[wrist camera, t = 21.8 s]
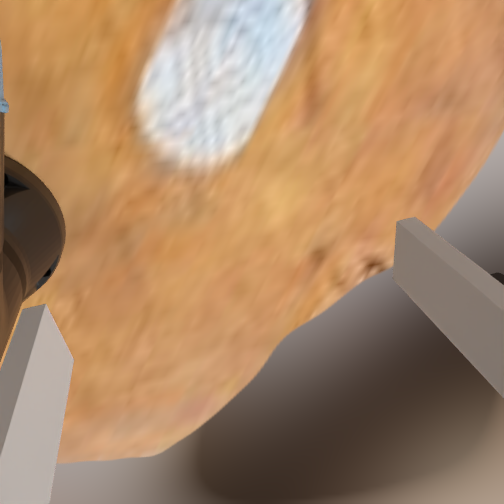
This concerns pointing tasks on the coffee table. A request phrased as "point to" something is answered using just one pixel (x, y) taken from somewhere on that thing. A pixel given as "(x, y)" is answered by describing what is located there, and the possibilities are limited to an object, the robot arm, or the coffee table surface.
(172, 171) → the coffee table surface
